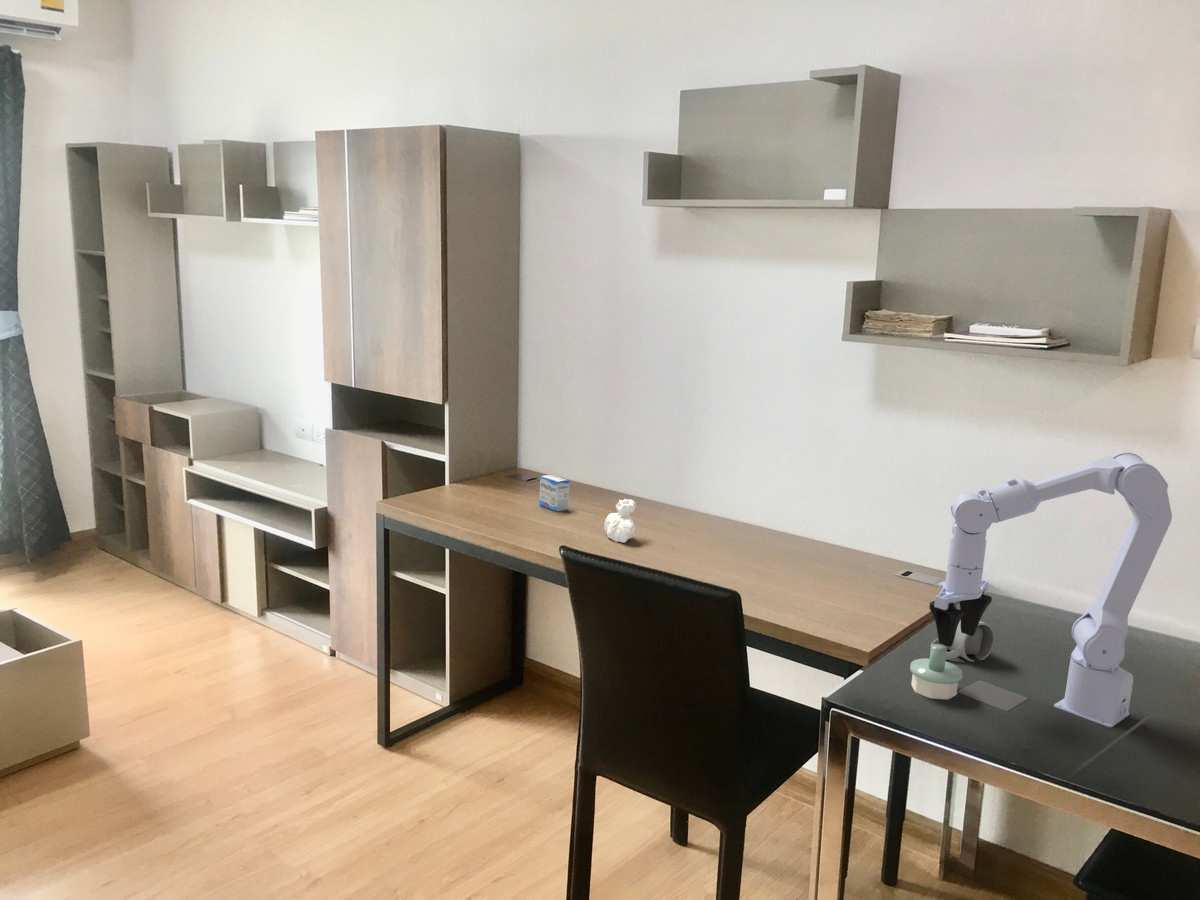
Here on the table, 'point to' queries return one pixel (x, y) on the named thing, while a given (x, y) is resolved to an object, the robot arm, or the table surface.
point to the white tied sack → (621, 522)
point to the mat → (993, 695)
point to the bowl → (934, 688)
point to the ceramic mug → (971, 643)
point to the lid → (936, 667)
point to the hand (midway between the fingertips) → (956, 639)
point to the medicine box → (554, 493)
